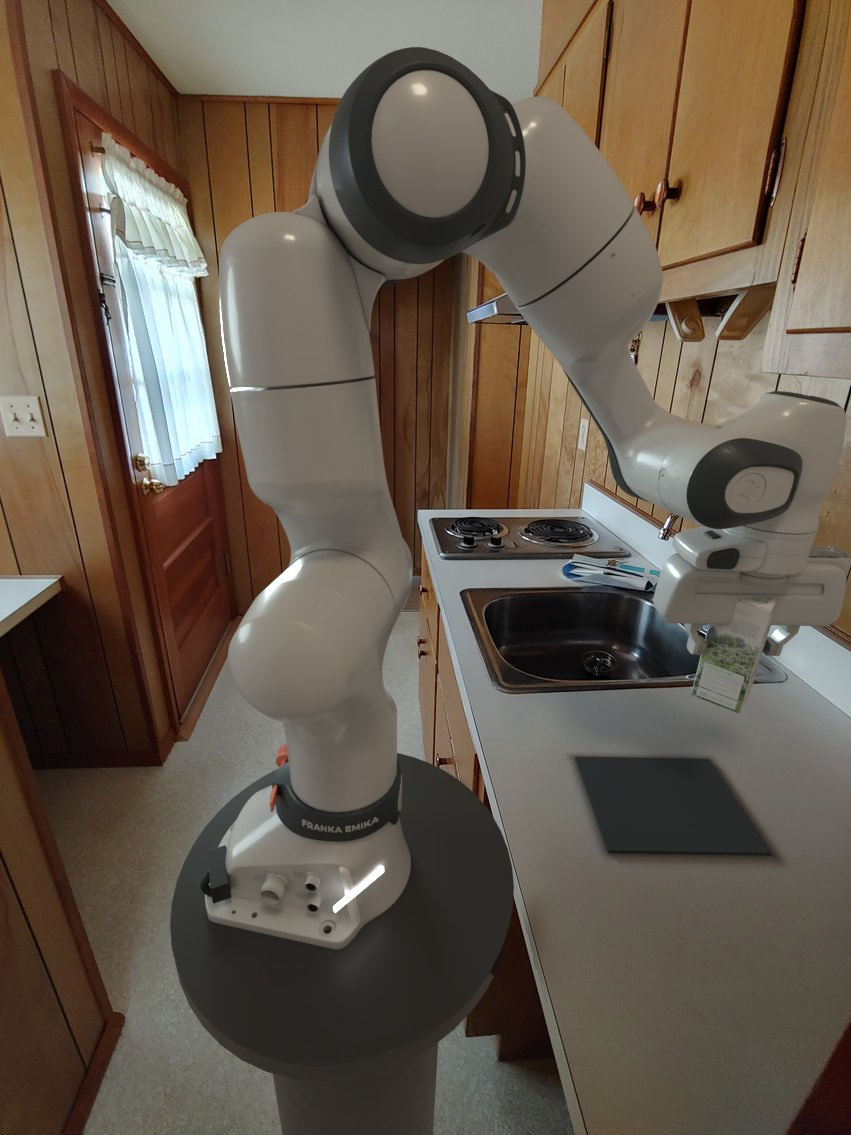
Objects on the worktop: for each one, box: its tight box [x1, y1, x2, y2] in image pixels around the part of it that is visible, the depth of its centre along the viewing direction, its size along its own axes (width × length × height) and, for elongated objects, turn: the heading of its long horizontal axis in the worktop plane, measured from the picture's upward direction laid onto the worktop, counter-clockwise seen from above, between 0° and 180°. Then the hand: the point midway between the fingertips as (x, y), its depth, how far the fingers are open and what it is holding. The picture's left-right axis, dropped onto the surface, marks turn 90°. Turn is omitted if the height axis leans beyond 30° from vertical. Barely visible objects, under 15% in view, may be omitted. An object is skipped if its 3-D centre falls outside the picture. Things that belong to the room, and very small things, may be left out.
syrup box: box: [690, 598, 776, 714], centre depth 66 cm, size 6×6×14 cm
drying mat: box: [574, 755, 773, 856], centre depth 74 cm, size 20×16×1 cm
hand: (731, 652), depth 66 cm, fingers closed on syrup box, 7 cm apart
